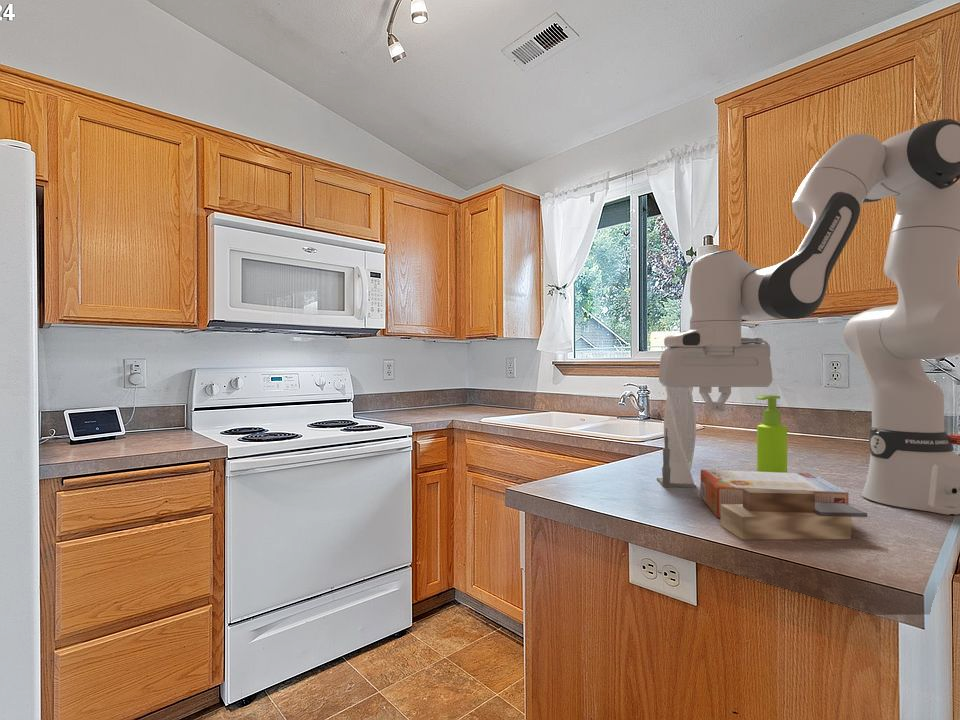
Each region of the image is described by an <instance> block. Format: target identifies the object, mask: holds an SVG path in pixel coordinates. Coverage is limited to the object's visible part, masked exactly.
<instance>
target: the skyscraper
mask: <svg viewBox="0 0 960 720" xmlns="http://www.w3.org/2000/svg"><path fill="white" fill-rule="evenodd" d="M693 390H694V387H665V391H666V400H665V405H664V414H663V441H664V442H663V443H664V447H662V462H663V465H662V467H661V471H662V473H661V474H662V477H656V481H657V482H658V481H659V482H660V483H659V482H658V483H659V484H660V485H661V487H664V488H665V487H666V488H690V489H697V485H696V484H695V481H694V479H693V475H692V472H691V471H692V465H693V460H694V454H695V448H696V447H695V446H696V436H697V435H696V434H697V418H696V417H697V415H696V408H695V402H694V396H693Z"/></svg>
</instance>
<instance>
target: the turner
mask: <svg viewBox="0 0 960 720" xmlns="http://www.w3.org/2000/svg"><path fill="white" fill-rule="evenodd" d="M743 507H744V508H745V509H747V510H748V511H754V512H798V513H815V514H817V515H819V516H841V517H851V518H867V517H868V513H867V512H865V511H864V510H863V511H862V510H861V509H859V508H856V507H854V506H851V505H849V504H848V505H847V504H845V503H832V502H815V494H814V493H812V492H809V491H807V490H785V489H743Z"/></svg>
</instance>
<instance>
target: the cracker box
mask: <svg viewBox="0 0 960 720" xmlns="http://www.w3.org/2000/svg"><path fill="white" fill-rule="evenodd" d="M743 489H785V490H807V491H809V492H812V493H814V494H815V502H832V503H845V504H847V505H849V491H847V490H845V489H842V488H840V487H839V486H837V485H835V484H833V483H831V482H829V481H828V480H825V479H823V478H822V477H819V476H818V475H816V474H814V473H808V472H807V473H806V472H805V473H804V472H803V473H800V472H787V473H777V472H757V471H749V470H748V471H746V470H725V469H724V470H721V469H718V470H717V469H716V470H715V469H700V489H699V490H700V491H699V493H700V498H701V499H702V500H703V501H704V502H705V503H706V505H707V506H708V507H709V509H711V511H712V512H713V513H714V514H715V516H716V517H717V518H720V519H721V504H743Z"/></svg>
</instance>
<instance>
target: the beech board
mask: <svg viewBox="0 0 960 720" xmlns="http://www.w3.org/2000/svg"><path fill="white" fill-rule="evenodd" d="M720 526H721V527H723V528H724V529H726V530H727V531H729V532H730V533H732V534H733V535H734V536H736V537H737V538H740V539H741V540H852V517H841V516H819V515H817V514H815V513H798V512H754V511H748V510H747V509H745V508H744V507H743V504H721V518H720Z"/></svg>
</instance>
